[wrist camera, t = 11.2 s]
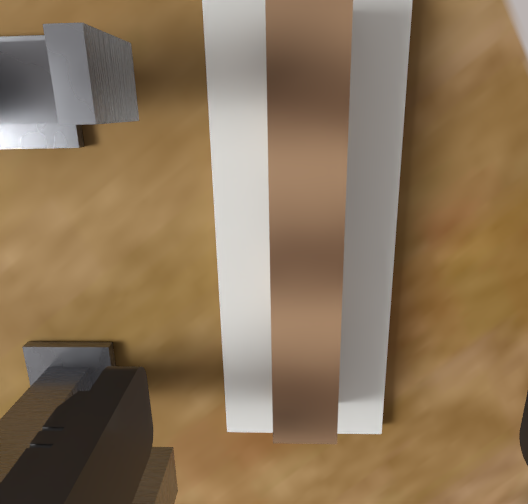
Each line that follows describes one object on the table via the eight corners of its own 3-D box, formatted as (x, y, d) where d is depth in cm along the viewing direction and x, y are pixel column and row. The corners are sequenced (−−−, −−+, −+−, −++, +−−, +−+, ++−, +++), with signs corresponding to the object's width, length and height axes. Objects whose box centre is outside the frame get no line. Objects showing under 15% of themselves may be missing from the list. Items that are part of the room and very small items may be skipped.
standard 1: (28, 341, 26) (-247, 590, 12) (199, 342, 25) (104, 601, 12) (43, 413, 27) (-188, 703, 14) (205, 415, 27) (126, 718, 13)
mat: (203, -31, 20) (200, -36, 19) (410, -39, 19) (416, -45, 18) (228, 422, 27) (227, 431, 26) (378, 424, 26) (381, 434, 26)
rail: (268, 13, 19) (265, -5, 16) (342, 10, 19) (353, -8, 16) (274, 402, 25) (273, 443, 22) (330, 403, 25) (336, 444, 22)
